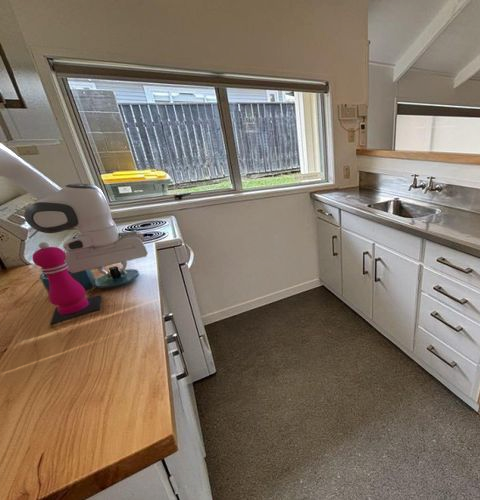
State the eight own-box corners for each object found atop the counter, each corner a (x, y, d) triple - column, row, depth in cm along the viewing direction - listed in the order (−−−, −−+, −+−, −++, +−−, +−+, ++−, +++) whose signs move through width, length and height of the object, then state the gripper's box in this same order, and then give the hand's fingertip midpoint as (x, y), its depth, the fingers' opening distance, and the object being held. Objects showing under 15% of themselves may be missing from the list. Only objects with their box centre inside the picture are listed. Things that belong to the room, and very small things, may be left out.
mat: (51, 326, 74) (50, 323, 73) (57, 310, 81) (55, 307, 81) (100, 311, 79) (99, 308, 79) (101, 297, 87) (100, 294, 86)
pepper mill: (65, 304, 82) (33, 240, 74) (95, 299, 84) (67, 236, 76) (51, 318, 75) (14, 249, 68) (84, 312, 78) (52, 244, 70)
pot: (47, 304, 84) (36, 282, 81) (53, 289, 93) (43, 269, 90) (96, 291, 91) (87, 270, 88) (98, 278, 99) (89, 259, 96)
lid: (94, 293, 86) (88, 280, 84) (95, 279, 95) (90, 267, 93) (141, 281, 93) (136, 268, 91) (138, 269, 102) (134, 257, 100)
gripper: (140, 227, 96) (152, 263, 101) (58, 241, 85) (76, 282, 90) (141, 231, 92) (154, 269, 97) (55, 247, 80) (74, 289, 85)
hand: (116, 275), depth 93 cm, fingers closed on lid, 2 cm apart
